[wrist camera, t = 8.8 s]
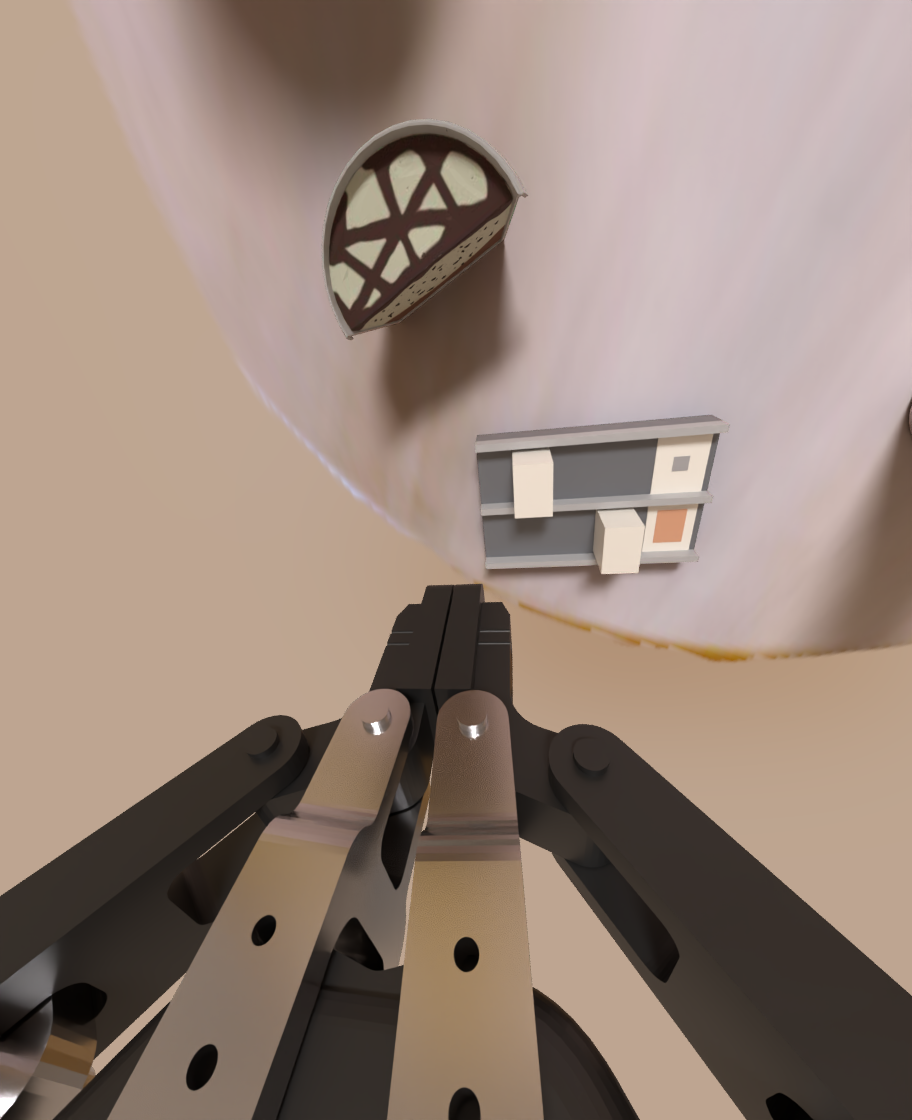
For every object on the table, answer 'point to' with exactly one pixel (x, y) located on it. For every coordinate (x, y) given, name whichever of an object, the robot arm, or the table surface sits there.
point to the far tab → (618, 540)
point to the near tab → (533, 482)
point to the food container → (412, 220)
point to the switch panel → (601, 489)
